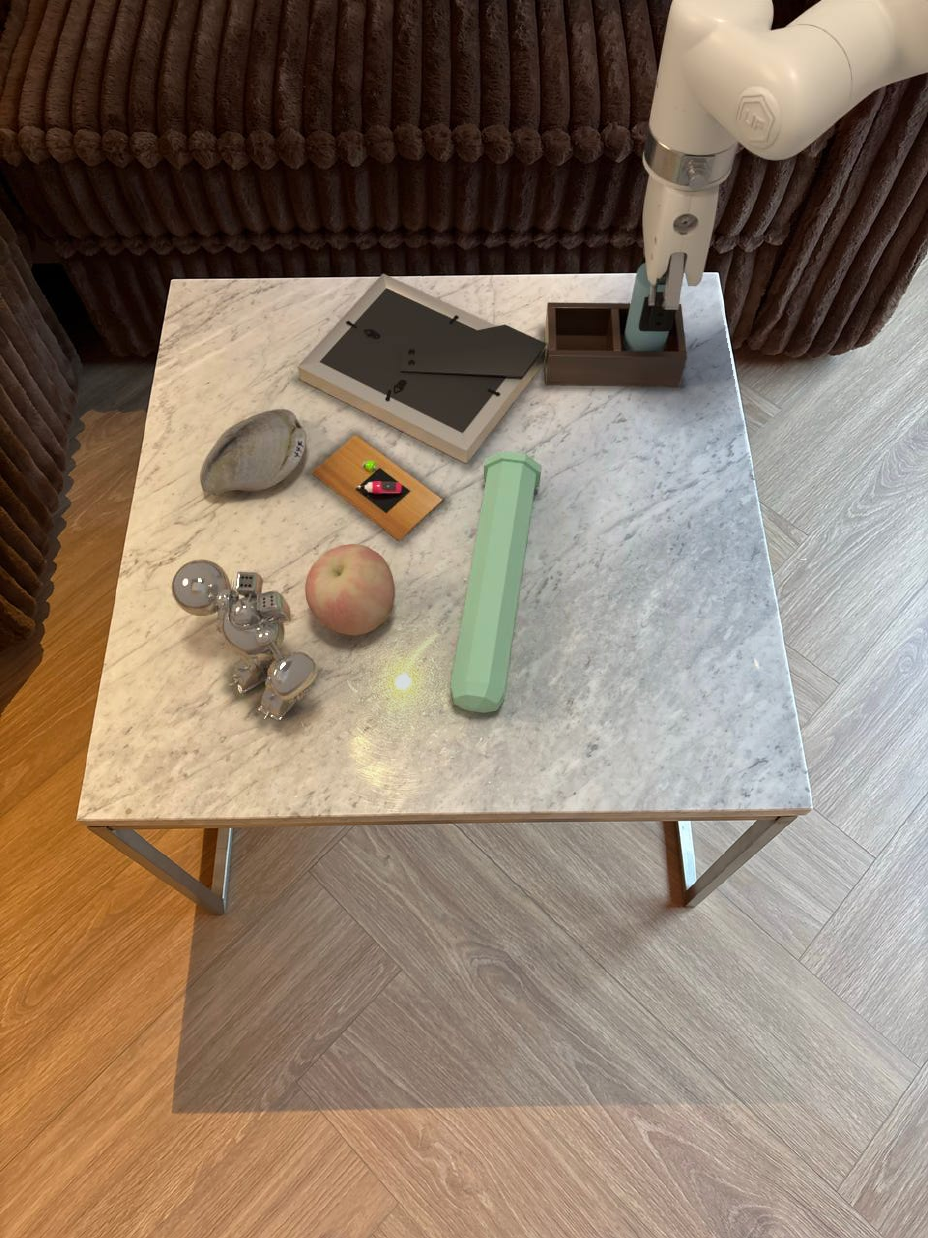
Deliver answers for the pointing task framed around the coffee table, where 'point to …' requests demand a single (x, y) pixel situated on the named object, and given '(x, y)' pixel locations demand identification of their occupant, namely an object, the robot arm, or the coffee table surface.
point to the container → (494, 582)
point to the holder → (606, 348)
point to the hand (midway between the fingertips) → (652, 308)
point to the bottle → (633, 335)
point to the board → (377, 487)
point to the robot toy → (248, 631)
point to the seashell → (254, 453)
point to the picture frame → (424, 366)
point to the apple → (350, 589)
